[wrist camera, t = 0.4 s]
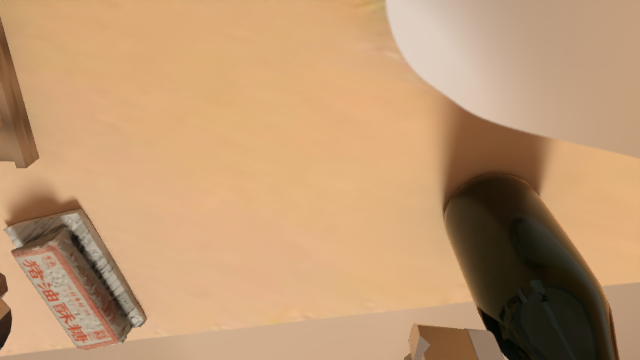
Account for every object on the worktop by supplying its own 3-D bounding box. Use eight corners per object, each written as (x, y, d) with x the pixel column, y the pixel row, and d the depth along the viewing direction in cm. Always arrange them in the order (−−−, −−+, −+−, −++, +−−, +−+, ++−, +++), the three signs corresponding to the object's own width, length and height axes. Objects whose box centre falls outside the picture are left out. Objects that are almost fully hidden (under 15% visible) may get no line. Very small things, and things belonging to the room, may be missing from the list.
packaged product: (138, 346, 59) (66, 360, 61) (151, 317, 63) (84, 331, 65) (63, 227, 51) (-18, 247, 53) (83, 203, 55) (8, 223, 57)
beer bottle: (428, 193, 53) (543, 519, 24) (521, 154, 51) (777, 465, 22) (460, 262, 57) (592, 610, 28) (548, 229, 55) (791, 573, 26)
